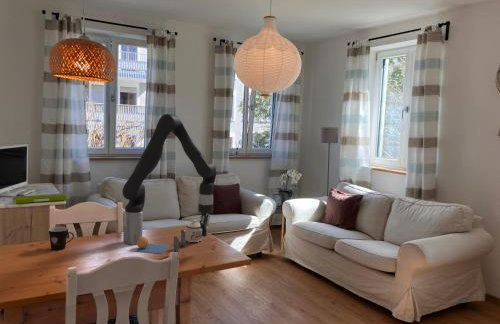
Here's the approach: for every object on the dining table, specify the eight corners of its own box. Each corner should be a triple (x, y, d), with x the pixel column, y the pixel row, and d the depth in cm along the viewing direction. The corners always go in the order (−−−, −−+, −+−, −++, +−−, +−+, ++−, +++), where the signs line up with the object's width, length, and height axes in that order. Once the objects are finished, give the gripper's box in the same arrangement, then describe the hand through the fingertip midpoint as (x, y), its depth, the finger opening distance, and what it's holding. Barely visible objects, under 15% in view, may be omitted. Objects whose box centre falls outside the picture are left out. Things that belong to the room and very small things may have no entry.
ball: (132, 241, 205) (142, 236, 204) (137, 238, 211) (146, 233, 210) (138, 251, 205) (148, 246, 204) (142, 248, 211) (152, 243, 210)
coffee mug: (44, 249, 200) (44, 229, 199) (60, 245, 207) (60, 226, 206) (60, 253, 194) (60, 233, 193) (75, 249, 202) (75, 229, 201)
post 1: (172, 254, 199) (173, 237, 198) (174, 253, 201) (174, 236, 201) (177, 255, 199) (177, 237, 198) (178, 253, 201) (179, 236, 200)
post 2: (180, 247, 212) (180, 230, 211) (181, 246, 214) (181, 229, 213) (184, 247, 212) (184, 231, 211) (185, 246, 214) (186, 229, 213)
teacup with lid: (190, 244, 219) (191, 223, 218) (183, 239, 226) (183, 219, 225) (209, 241, 226) (210, 220, 225) (201, 237, 233) (202, 217, 232)
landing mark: (135, 251, 202) (135, 251, 202) (145, 243, 216) (145, 243, 216) (161, 253, 200) (161, 253, 200) (170, 245, 214) (170, 245, 214)
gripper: (201, 199, 210) (199, 232, 211) (195, 204, 197) (193, 239, 198) (215, 200, 209) (213, 233, 211) (210, 205, 196) (208, 240, 198)
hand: (204, 236), depth 204 cm, fingers closed
